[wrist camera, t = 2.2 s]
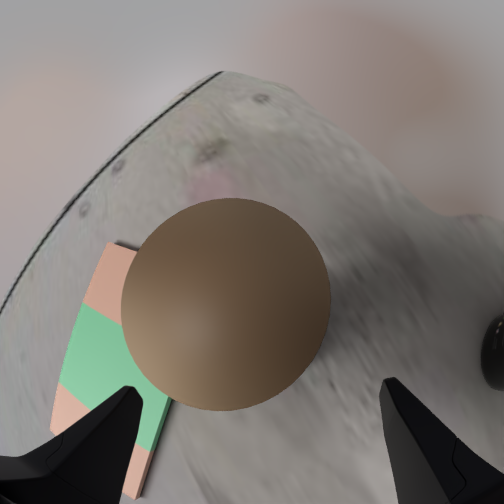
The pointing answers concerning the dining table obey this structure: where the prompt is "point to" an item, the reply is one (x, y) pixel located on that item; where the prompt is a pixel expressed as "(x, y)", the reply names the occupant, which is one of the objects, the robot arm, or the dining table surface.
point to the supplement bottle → (494, 354)
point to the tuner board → (107, 365)
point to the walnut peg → (225, 304)
